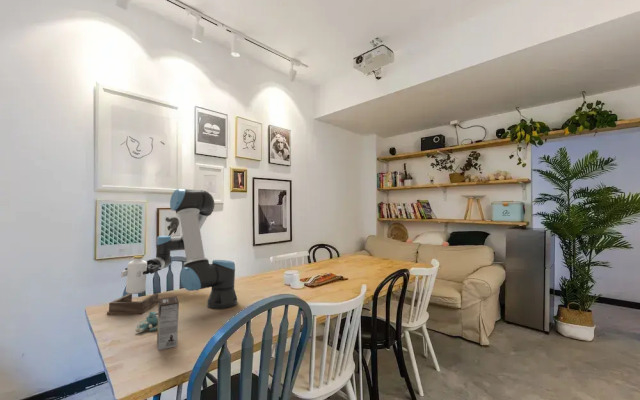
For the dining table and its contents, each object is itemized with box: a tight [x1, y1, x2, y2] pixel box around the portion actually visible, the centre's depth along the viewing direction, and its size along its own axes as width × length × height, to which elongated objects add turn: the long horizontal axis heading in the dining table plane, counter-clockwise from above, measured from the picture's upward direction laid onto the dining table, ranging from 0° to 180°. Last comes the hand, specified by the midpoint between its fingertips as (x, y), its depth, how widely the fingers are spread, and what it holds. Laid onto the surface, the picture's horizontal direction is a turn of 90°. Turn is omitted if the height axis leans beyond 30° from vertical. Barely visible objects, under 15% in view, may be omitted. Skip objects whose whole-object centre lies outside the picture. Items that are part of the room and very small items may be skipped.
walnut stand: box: [106, 293, 159, 315], centre depth 142 cm, size 16×16×5 cm
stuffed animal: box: [135, 311, 158, 333], centre depth 119 cm, size 11×7×12 cm
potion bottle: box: [125, 255, 147, 295], centre depth 143 cm, size 8×8×18 cm
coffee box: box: [156, 295, 180, 351], centre depth 106 cm, size 9×6×16 cm
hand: (129, 274), depth 138 cm, fingers closed on potion bottle, 6 cm apart
